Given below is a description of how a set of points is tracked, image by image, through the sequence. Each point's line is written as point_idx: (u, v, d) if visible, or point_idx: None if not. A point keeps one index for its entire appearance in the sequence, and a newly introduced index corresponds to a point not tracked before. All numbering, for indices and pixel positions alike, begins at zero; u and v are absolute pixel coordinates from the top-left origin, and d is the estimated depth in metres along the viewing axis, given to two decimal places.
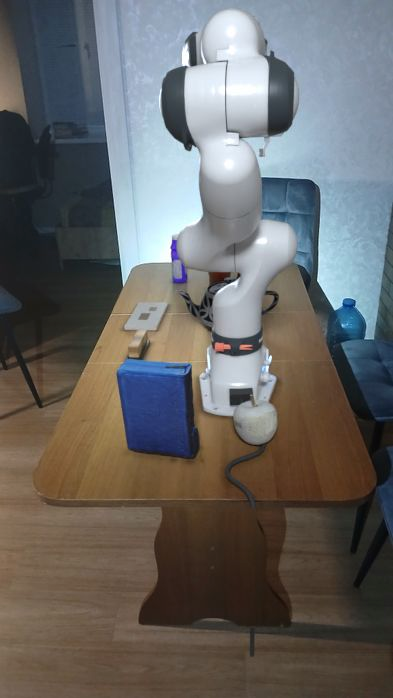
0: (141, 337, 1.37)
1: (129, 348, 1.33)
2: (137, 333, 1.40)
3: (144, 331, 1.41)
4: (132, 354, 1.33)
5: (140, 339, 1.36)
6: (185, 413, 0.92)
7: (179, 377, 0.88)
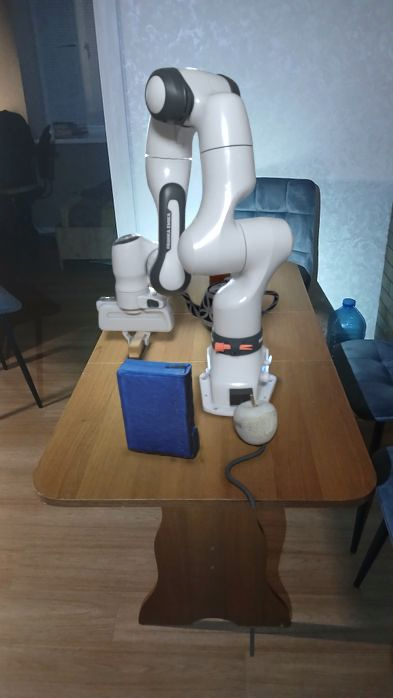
0: (141, 337, 1.37)
1: (129, 348, 1.33)
2: (137, 333, 1.40)
3: (144, 331, 1.41)
4: (132, 354, 1.33)
5: (140, 339, 1.36)
6: (185, 413, 0.92)
7: (179, 377, 0.88)
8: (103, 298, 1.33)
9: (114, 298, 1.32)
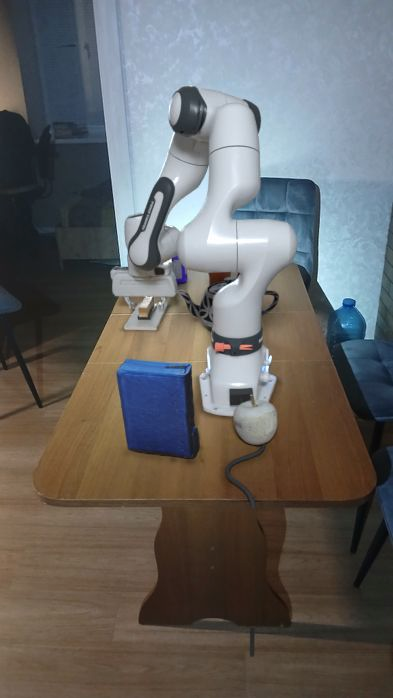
0: (149, 300, 1.59)
1: (139, 309, 1.54)
2: (145, 297, 1.61)
3: None
4: (141, 314, 1.54)
5: (148, 302, 1.58)
6: (185, 413, 0.92)
7: (179, 377, 0.88)
8: (116, 267, 1.54)
9: (126, 267, 1.53)
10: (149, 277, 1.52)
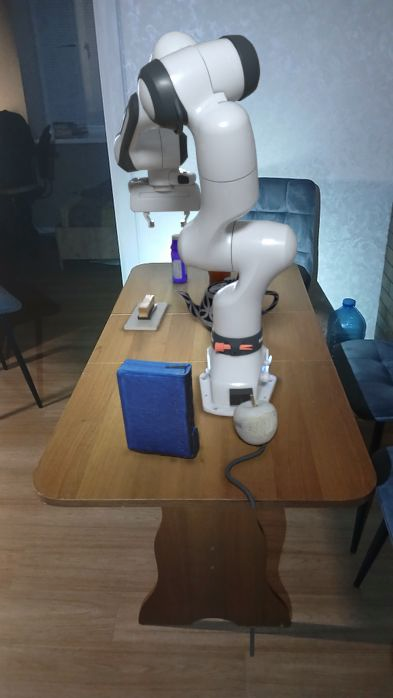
0: (149, 300, 1.59)
1: (139, 309, 1.54)
2: (145, 297, 1.61)
3: (151, 296, 1.62)
4: (141, 314, 1.54)
5: (148, 302, 1.58)
6: (185, 413, 0.92)
7: (179, 377, 0.88)
8: (135, 178, 1.39)
9: (145, 178, 1.38)
10: (171, 188, 1.37)
